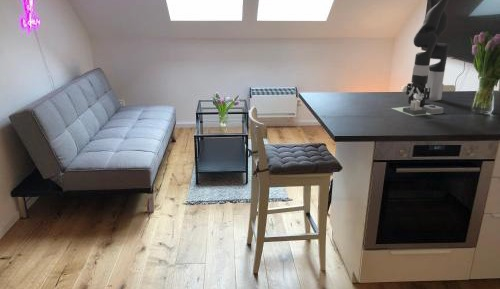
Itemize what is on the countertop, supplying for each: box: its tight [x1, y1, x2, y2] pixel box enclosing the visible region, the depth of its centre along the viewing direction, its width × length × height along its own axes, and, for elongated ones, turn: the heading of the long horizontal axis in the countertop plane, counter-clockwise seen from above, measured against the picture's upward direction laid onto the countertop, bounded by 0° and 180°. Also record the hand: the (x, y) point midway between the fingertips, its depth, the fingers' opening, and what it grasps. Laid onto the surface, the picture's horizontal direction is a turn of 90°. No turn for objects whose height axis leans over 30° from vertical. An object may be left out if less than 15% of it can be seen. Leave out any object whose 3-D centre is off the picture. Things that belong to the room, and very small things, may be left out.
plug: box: [409, 99, 422, 110], centre depth 211 cm, size 5×4×6 cm
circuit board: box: [390, 104, 444, 117], centre depth 216 cm, size 20×17×4 cm
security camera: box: [413, 87, 427, 100], centre depth 232 cm, size 6×7×10 cm
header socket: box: [402, 106, 426, 115], centre depth 212 cm, size 8×8×2 cm
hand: (415, 105), depth 211 cm, fingers open, 7 cm apart
